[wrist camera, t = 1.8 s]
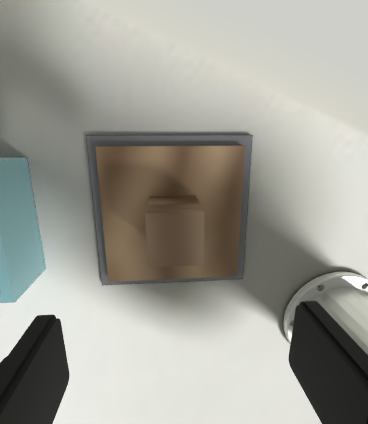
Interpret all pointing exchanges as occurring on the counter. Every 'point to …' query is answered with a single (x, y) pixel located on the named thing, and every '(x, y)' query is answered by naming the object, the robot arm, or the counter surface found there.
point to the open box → (18, 230)
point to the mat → (167, 141)
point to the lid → (170, 210)
